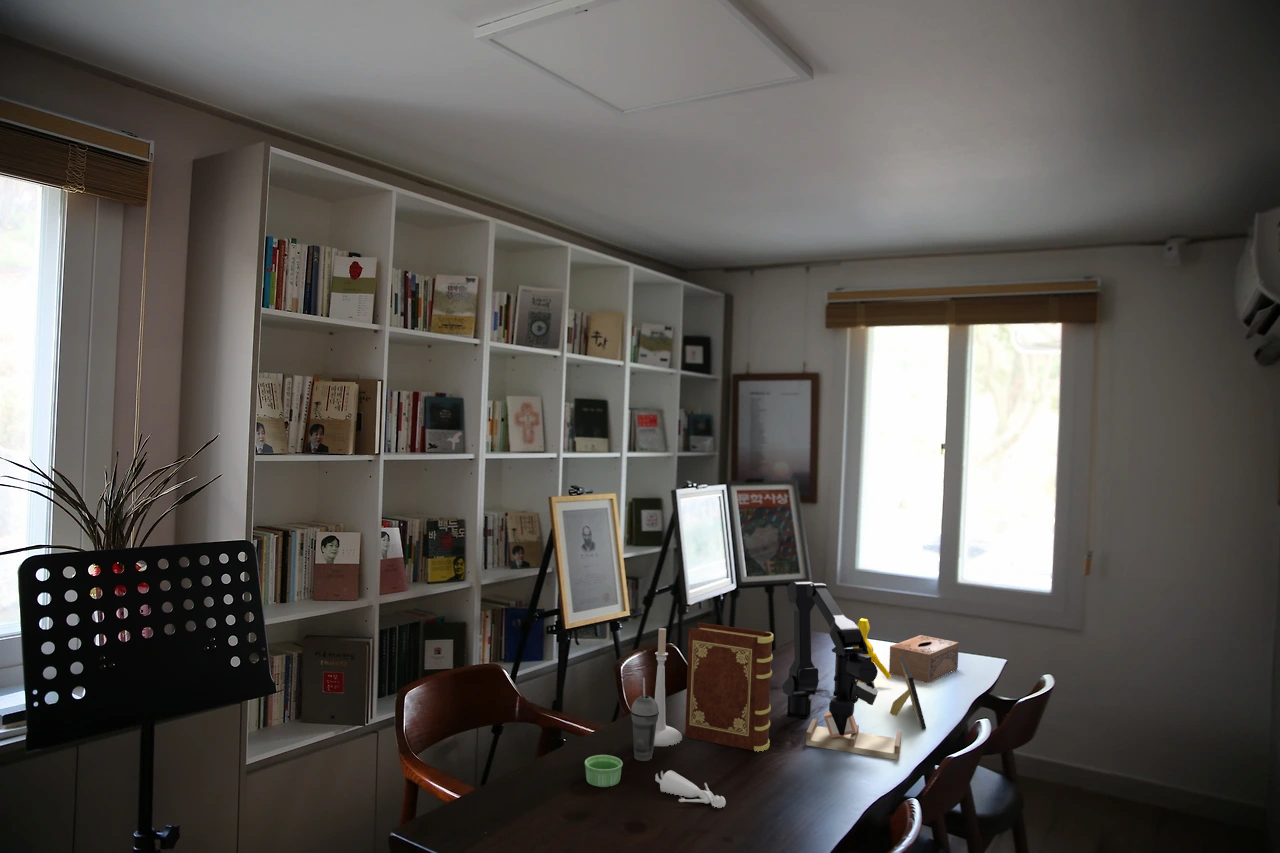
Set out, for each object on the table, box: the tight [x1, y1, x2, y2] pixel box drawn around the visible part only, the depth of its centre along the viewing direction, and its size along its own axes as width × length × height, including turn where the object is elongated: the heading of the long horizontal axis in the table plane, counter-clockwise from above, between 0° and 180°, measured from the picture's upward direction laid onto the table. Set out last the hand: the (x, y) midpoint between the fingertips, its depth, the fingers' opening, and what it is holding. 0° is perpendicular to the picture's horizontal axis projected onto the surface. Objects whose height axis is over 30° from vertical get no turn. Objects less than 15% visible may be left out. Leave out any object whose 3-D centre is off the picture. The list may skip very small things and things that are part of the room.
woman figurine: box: [655, 769, 727, 809], centre depth 192 cm, size 12×4×18 cm
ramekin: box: [584, 754, 624, 788], centre depth 199 cm, size 9×9×4 cm
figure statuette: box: [853, 618, 892, 684], centre depth 286 cm, size 18×8×22 cm, turn 57°
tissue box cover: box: [888, 634, 960, 684], centre depth 303 cm, size 26×14×10 cm, turn 138°
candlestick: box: [654, 627, 683, 747], centre depth 228 cm, size 13×13×30 cm
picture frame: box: [889, 657, 927, 730], centre depth 254 cm, size 23×9×15 cm, turn 168°
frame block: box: [823, 710, 858, 738], centre depth 229 cm, size 7×4×6 cm, turn 70°
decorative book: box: [684, 622, 774, 753], centre depth 228 cm, size 22×8×30 cm, turn 65°
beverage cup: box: [630, 677, 659, 762], centre depth 214 cm, size 7×7×20 cm
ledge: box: [805, 718, 903, 761], centre depth 228 cm, size 24×12×4 cm, turn 70°
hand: (843, 729), depth 229 cm, fingers open, 9 cm apart
